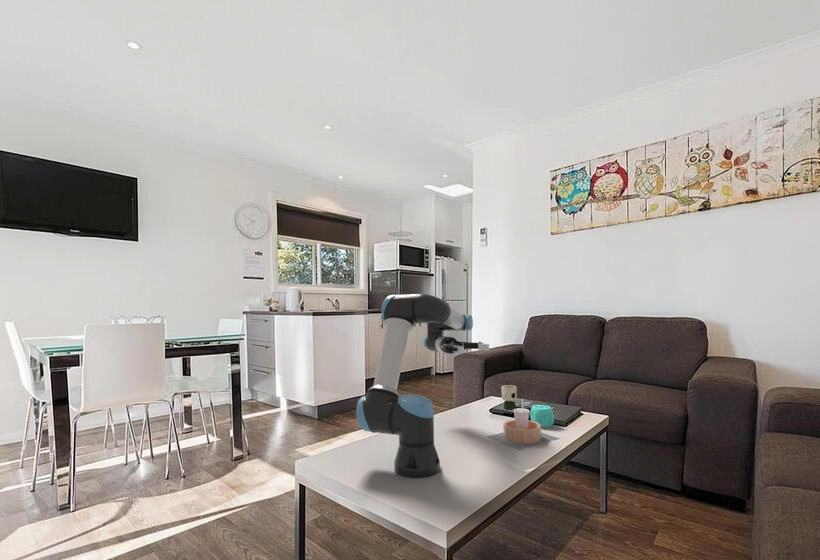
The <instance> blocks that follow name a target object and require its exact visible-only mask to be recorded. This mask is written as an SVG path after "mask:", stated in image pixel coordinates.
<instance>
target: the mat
mask: <svg viewBox="0 0 820 560" xmlns="http://www.w3.org/2000/svg"><path fill="white" fill-rule="evenodd" d="M485 437H486V438H488V439H491V440H494V441H496V442H498V443H500V444H504V445H506V446H508V447H510V448H513V449H516V450H517V451H520V450H523V449H526V448H527V449H528V448H531V447H535V446H538V445H543V444H544V443H545V444H546V443H549V442H553V441H557V440H560V438H559V437H556V436H553V435H550V434H547V433H544V432H542V431H541V440H540V441H539V442H536V443H528V444H523V443H515V442H511V441H508V440H506V439H505V438H504V431H503V432H499V433H495V434H491V435H486V436H485Z"/></svg>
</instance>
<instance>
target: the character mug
mask: <svg viewBox="0 0 820 560" xmlns="http://www.w3.org/2000/svg"><path fill="white" fill-rule="evenodd" d="M517 392H518V390H517V385H512V384H511V385H510V384H506V385H505V384H504V385H501V399H502V400H503V401H504V402H503V410H504V409H506V410H512V409H515V407H517V406H516V402H515V401H517V400H518V399H517V398H518V395H517Z"/></svg>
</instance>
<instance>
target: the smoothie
mask: <svg viewBox="0 0 820 560" xmlns="http://www.w3.org/2000/svg"><path fill="white" fill-rule="evenodd" d="M530 412H531V410H529V409H527V408H525V407H524V399H523V398H521V408H519V407H518V408H516V409H514V410H513V413H514V414H513V415H514V420H515V423H516V429H528V420H529V419H530V415H531V413H530Z"/></svg>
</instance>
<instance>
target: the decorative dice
mask: <svg viewBox="0 0 820 560" xmlns="http://www.w3.org/2000/svg"><path fill="white" fill-rule="evenodd" d="M530 421H534V422H537V423H539V424H540V425H541V428H550V427H552V426H553V425H554V422H555V416H554V411H553V409H552V407H551V406H550V405H546V404H534V405H532V406H531V407H530Z"/></svg>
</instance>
